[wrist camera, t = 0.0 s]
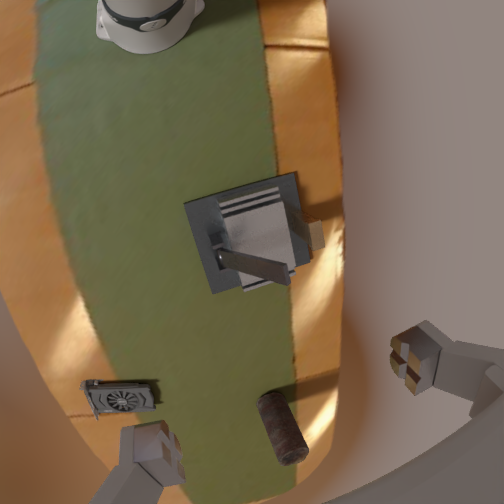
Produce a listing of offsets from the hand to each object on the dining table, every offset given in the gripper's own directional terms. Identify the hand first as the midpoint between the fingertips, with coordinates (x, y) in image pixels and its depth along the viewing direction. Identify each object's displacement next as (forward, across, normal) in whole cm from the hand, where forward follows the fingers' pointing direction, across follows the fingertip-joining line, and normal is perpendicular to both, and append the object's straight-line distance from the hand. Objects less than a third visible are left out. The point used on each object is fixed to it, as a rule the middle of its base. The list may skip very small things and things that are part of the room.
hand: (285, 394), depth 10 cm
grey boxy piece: (+48, -7, +12) cm, 50 cm away
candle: (+48, -2, +56) cm, 74 cm away
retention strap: (+36, -5, +12) cm, 38 cm away
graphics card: (+49, +32, +41) cm, 71 cm away
